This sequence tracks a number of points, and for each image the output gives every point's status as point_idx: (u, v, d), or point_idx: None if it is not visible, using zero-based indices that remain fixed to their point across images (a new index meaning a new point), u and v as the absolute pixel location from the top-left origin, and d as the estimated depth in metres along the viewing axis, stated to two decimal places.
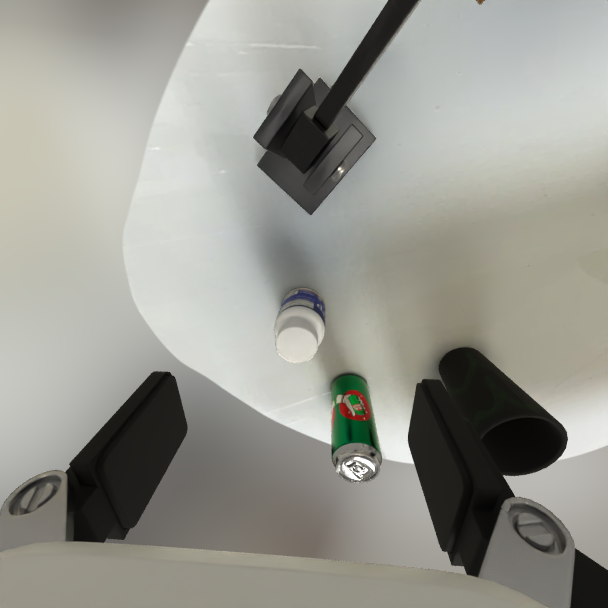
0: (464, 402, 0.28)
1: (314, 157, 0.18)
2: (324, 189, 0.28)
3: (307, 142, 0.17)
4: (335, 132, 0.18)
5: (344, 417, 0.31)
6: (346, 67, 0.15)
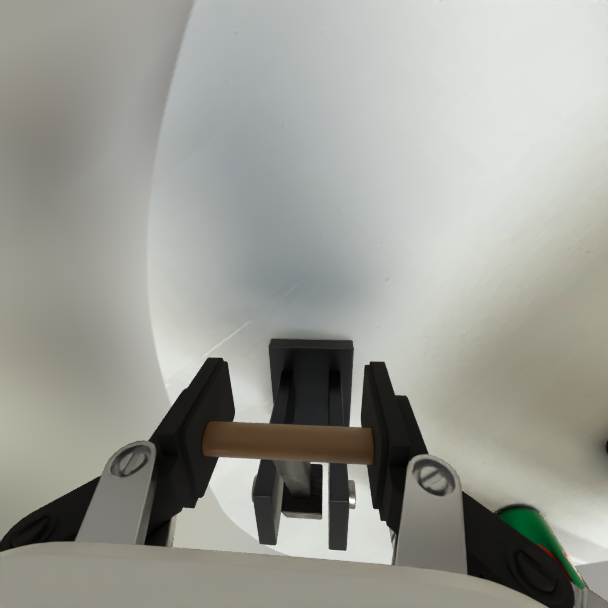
0: None
1: (320, 517, 0.16)
2: (343, 407, 0.25)
3: (304, 515, 0.16)
4: (320, 480, 0.16)
5: None
6: (288, 487, 0.13)
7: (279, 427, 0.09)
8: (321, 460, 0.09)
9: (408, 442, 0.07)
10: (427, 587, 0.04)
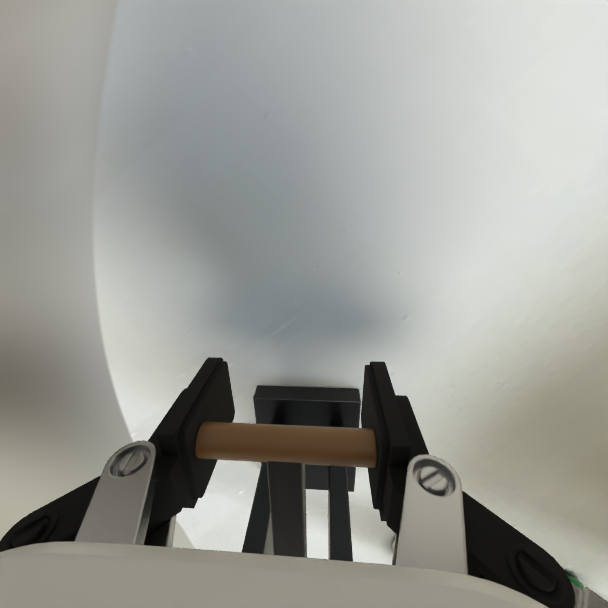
0: None
1: None
2: (347, 467, 0.21)
3: None
4: None
5: None
6: None
7: None
8: (321, 456, 0.08)
9: (408, 442, 0.07)
10: (427, 587, 0.04)
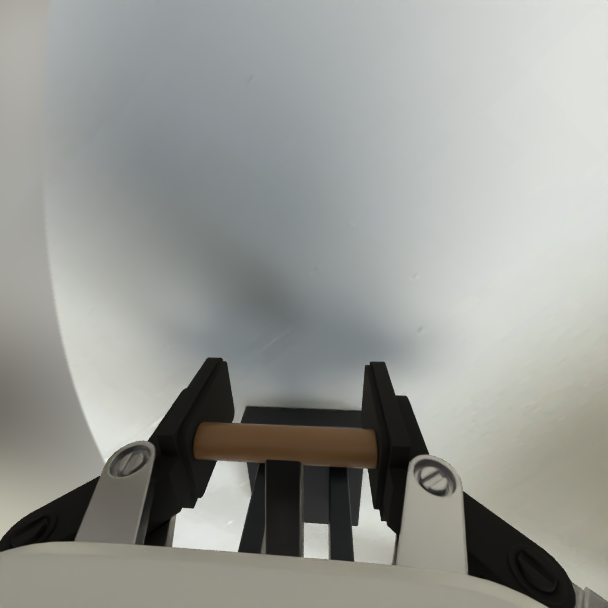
0: None
1: None
2: (350, 500, 0.18)
3: None
4: None
5: None
6: None
7: (277, 425, 0.09)
8: (321, 451, 0.08)
9: (409, 442, 0.07)
10: (427, 587, 0.04)
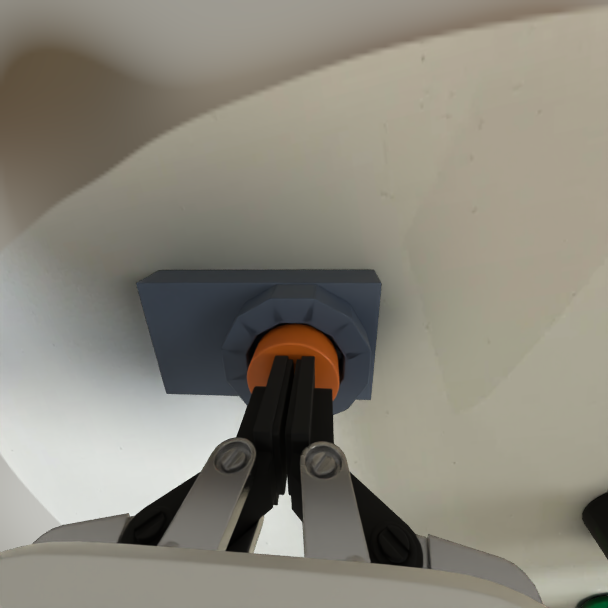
0: None
1: None
2: None
3: None
4: None
5: None
6: None
7: None
8: None
9: (307, 430, 0.08)
10: (427, 587, 0.04)
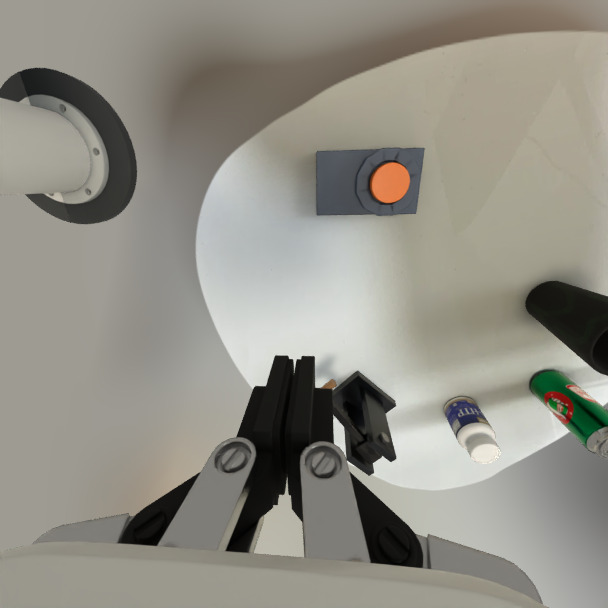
0: None
1: None
2: (382, 398, 0.47)
3: (367, 450, 0.38)
4: None
5: (564, 424, 0.38)
6: (345, 427, 0.40)
7: None
8: None
9: (307, 430, 0.08)
10: (427, 587, 0.04)
